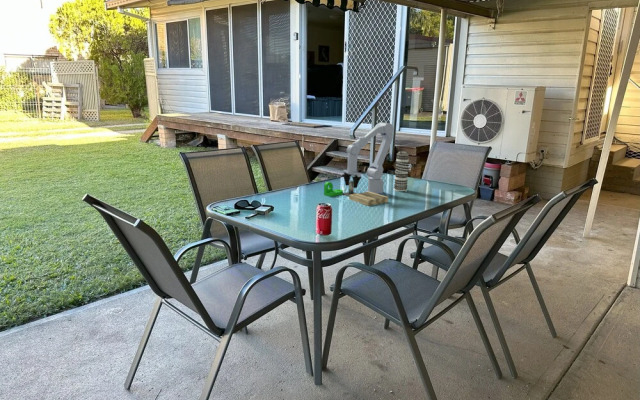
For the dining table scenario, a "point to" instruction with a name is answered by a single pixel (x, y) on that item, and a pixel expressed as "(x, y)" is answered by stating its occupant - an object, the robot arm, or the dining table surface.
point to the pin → (351, 188)
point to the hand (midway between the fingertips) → (351, 186)
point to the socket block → (368, 198)
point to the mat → (347, 194)
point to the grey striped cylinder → (401, 171)
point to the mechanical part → (331, 190)
